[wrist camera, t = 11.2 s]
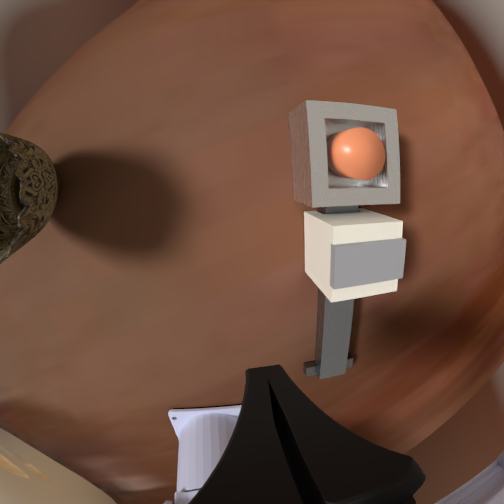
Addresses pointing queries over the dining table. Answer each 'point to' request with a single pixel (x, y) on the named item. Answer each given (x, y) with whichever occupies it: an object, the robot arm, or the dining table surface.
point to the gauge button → (356, 154)
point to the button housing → (315, 154)
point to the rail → (332, 327)
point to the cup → (24, 192)
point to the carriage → (353, 253)
